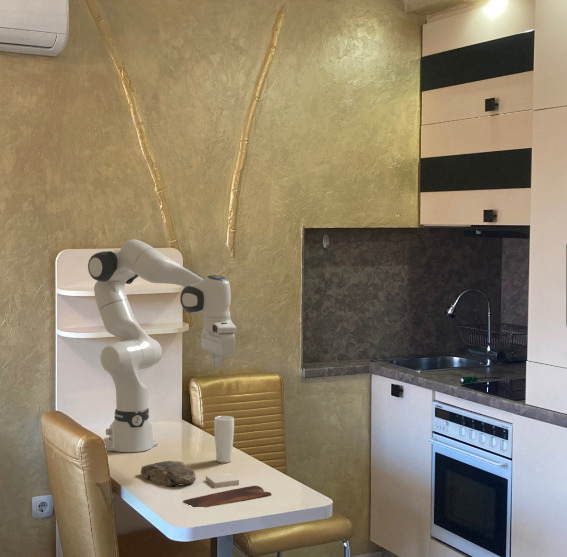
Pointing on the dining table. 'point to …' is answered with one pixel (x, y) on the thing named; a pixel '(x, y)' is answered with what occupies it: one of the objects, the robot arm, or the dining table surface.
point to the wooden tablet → (228, 497)
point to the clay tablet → (169, 473)
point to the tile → (222, 480)
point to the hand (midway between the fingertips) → (216, 366)
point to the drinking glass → (224, 438)
